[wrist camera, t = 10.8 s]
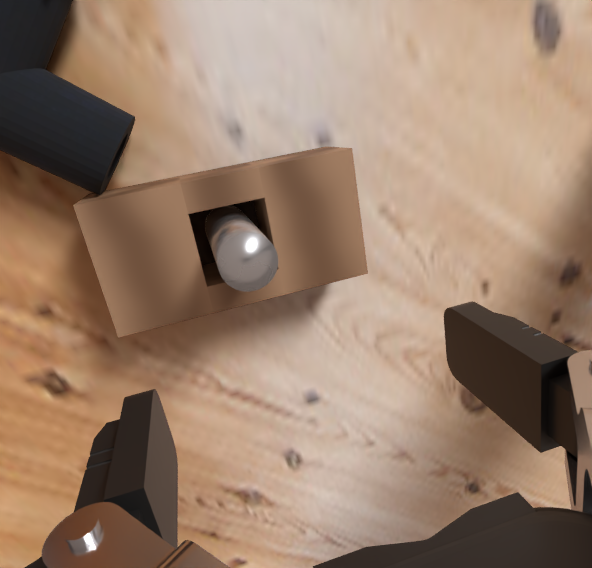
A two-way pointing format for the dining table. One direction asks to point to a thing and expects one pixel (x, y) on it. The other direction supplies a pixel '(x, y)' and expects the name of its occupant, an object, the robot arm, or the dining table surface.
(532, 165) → the dining table surface
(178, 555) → the robot arm
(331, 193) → the socket block
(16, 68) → the pipe connector
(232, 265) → the pin
